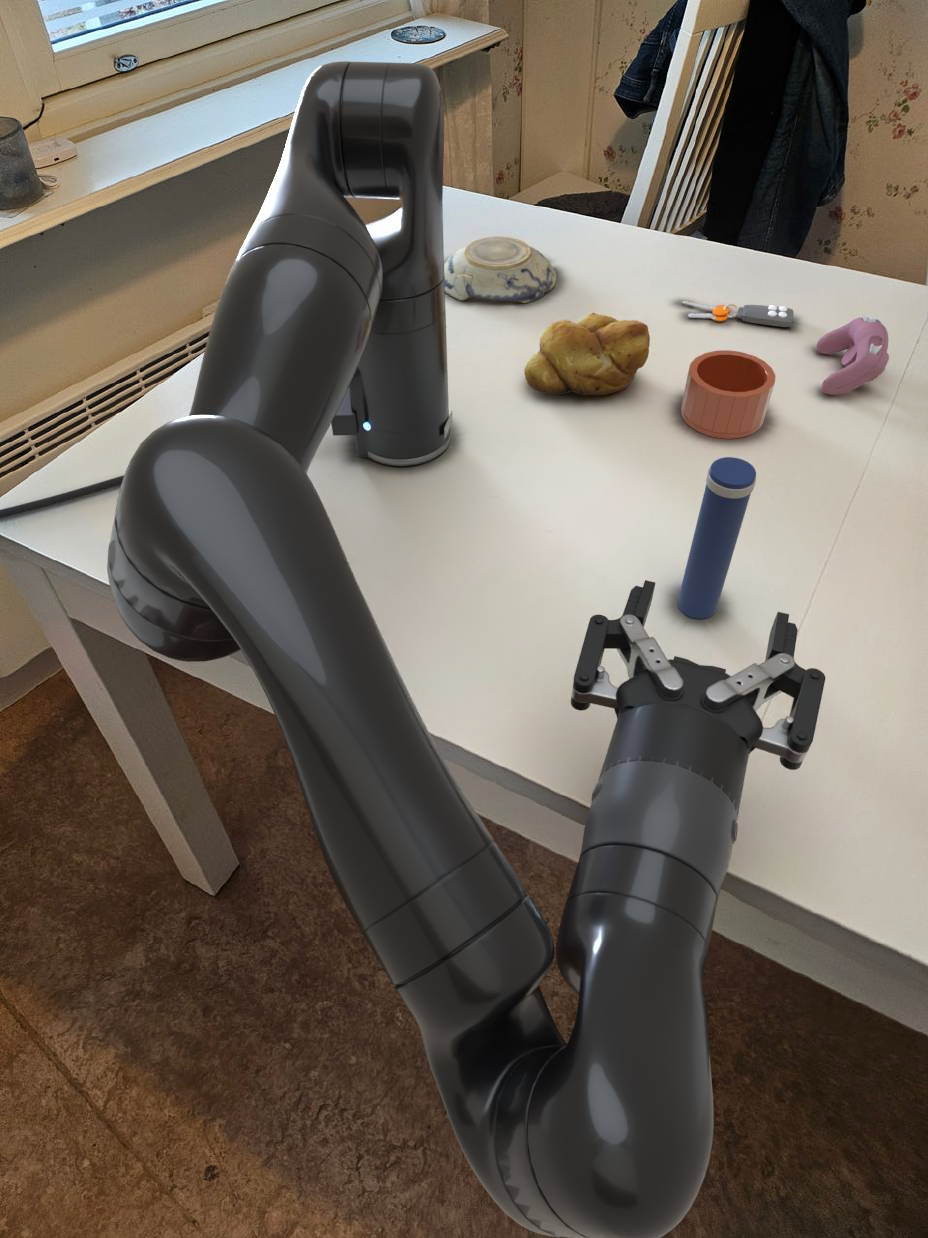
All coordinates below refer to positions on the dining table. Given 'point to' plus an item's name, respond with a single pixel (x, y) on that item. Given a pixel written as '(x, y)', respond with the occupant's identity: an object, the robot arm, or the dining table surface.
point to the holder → (727, 394)
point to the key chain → (748, 314)
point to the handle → (715, 535)
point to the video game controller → (855, 354)
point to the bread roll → (588, 356)
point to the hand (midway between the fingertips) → (713, 605)
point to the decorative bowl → (498, 271)
